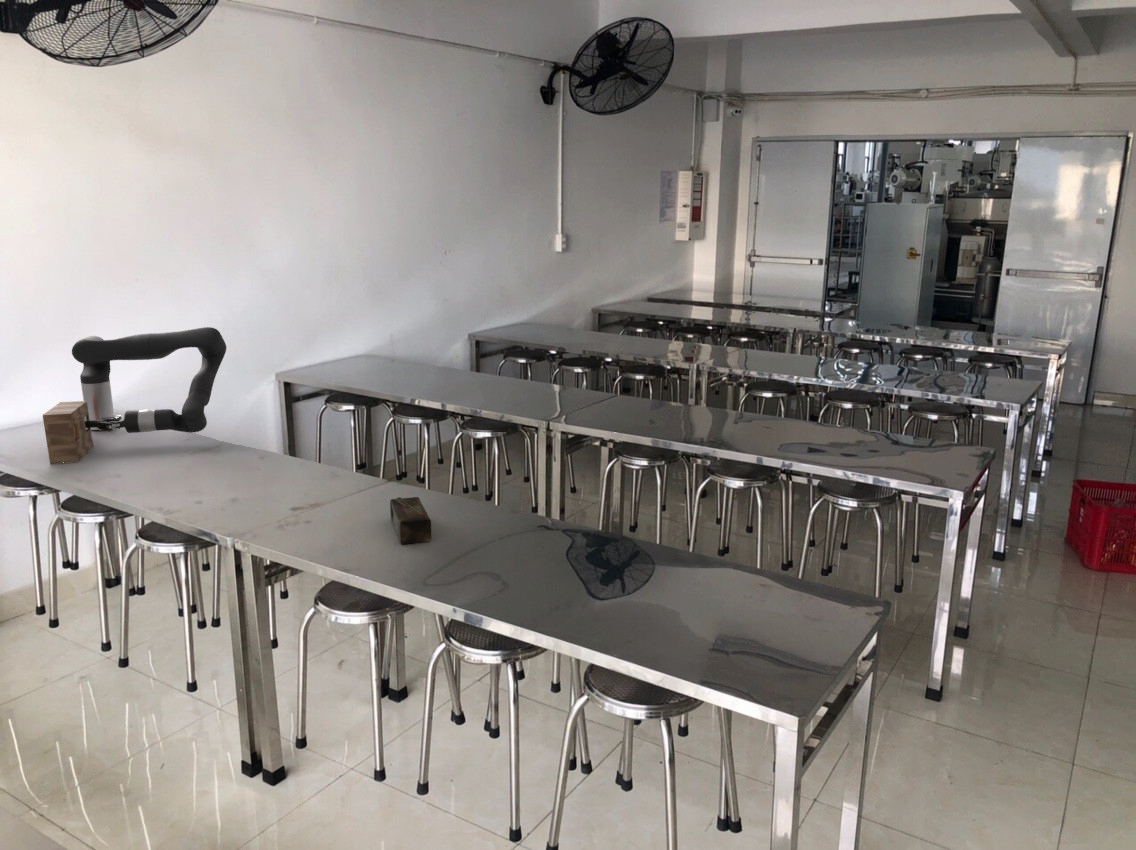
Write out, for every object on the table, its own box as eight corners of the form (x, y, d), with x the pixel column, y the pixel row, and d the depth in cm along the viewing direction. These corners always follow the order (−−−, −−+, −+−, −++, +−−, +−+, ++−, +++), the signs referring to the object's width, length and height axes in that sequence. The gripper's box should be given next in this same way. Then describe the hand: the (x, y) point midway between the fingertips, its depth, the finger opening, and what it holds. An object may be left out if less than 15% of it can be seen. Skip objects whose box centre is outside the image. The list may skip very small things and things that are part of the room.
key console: (67, 448, 300) (60, 402, 296) (93, 447, 302) (86, 400, 298) (50, 464, 283) (42, 414, 279) (77, 462, 285) (70, 413, 281)
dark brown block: (420, 517, 238) (419, 493, 236) (432, 543, 220) (431, 518, 219) (390, 520, 236) (388, 496, 234) (400, 547, 218) (399, 521, 216)
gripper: (138, 436, 295) (81, 440, 291) (147, 426, 307) (92, 430, 303) (136, 414, 293) (78, 417, 289) (144, 405, 305) (89, 408, 302)
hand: (85, 424), depth 296 cm, fingers closed
